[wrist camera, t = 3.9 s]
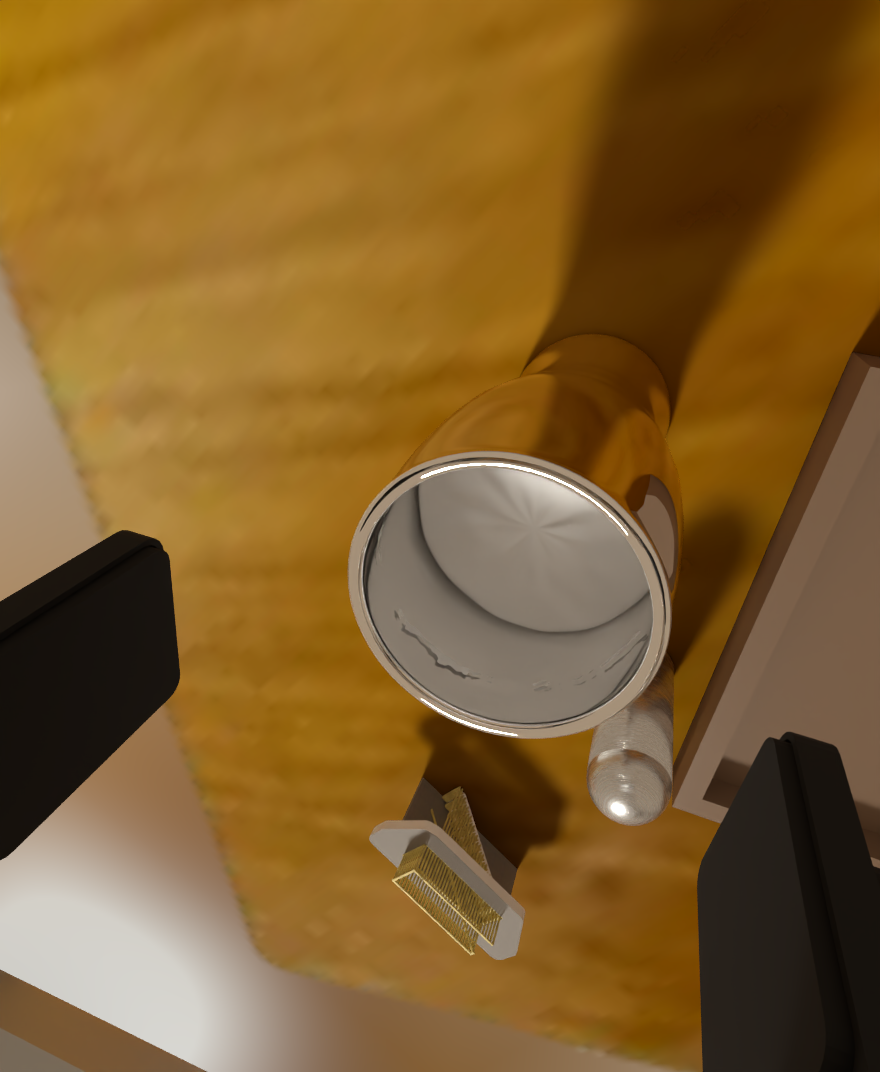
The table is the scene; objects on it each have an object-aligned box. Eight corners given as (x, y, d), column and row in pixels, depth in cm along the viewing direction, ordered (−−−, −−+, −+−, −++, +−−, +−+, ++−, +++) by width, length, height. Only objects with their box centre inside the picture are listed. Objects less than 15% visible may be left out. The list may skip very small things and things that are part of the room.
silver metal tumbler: (620, 280, 23) (546, 361, 11) (718, 440, 25) (757, 686, 12) (469, 387, 27) (276, 545, 14) (562, 522, 28) (461, 782, 15)
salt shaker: (662, 702, 30) (656, 856, 23) (598, 682, 31) (572, 825, 24) (682, 651, 29) (683, 798, 22) (615, 631, 29) (593, 767, 22)
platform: (440, 658, 34) (393, 745, 28) (669, 887, 36) (666, 1012, 30) (315, 747, 40) (255, 834, 34) (514, 939, 42) (488, 1051, 36)
